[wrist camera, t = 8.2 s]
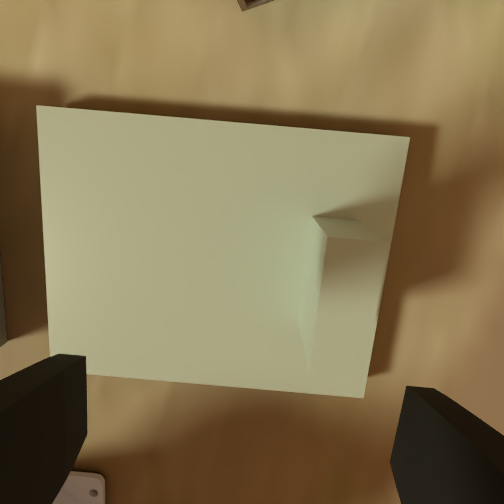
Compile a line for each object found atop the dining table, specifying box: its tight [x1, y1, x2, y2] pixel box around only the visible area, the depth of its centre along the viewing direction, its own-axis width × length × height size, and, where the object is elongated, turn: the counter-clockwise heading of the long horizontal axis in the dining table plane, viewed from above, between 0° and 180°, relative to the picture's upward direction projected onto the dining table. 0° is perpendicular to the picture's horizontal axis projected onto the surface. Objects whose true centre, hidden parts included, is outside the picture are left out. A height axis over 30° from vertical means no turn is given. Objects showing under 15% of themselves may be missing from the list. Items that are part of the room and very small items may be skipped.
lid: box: [36, 105, 410, 398], centre depth 16 cm, size 12×15×6 cm
